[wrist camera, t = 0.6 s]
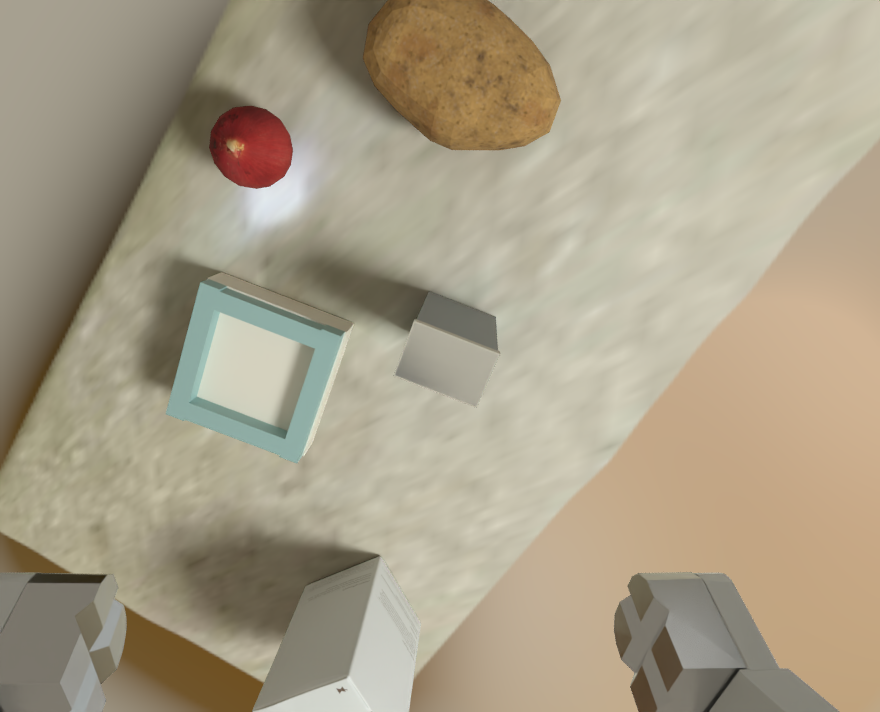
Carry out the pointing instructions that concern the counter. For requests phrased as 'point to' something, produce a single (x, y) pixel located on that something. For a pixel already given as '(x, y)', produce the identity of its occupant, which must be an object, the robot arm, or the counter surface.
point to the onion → (251, 147)
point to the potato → (461, 73)
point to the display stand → (257, 366)
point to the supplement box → (346, 647)
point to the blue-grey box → (450, 350)
